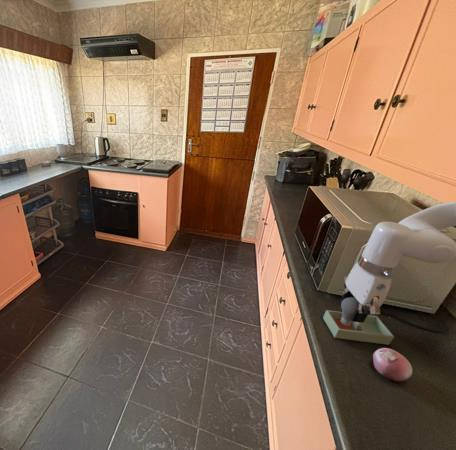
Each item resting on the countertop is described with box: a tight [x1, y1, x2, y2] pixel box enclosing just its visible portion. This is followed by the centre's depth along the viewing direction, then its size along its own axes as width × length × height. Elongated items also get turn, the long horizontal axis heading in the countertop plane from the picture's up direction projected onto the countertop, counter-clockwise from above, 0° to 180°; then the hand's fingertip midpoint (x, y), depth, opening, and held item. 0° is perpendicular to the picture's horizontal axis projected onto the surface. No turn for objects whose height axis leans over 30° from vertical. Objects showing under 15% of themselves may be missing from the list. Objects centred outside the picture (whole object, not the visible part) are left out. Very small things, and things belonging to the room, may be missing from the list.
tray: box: [322, 309, 395, 346], centre depth 78 cm, size 16×8×4 cm, turn 82°
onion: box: [372, 347, 413, 382], centre depth 66 cm, size 8×8×7 cm
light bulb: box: [340, 297, 367, 326], centre depth 76 cm, size 6×6×10 cm
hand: (350, 312), depth 76 cm, fingers closed on light bulb, 6 cm apart
